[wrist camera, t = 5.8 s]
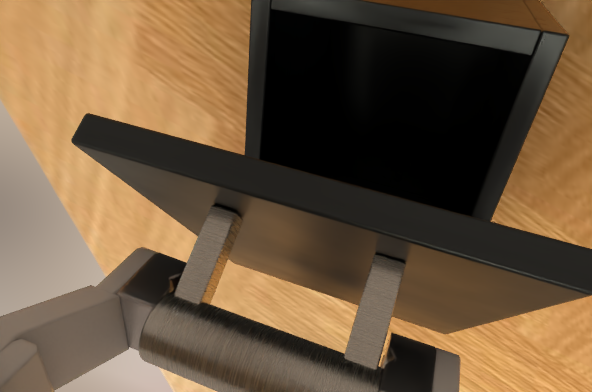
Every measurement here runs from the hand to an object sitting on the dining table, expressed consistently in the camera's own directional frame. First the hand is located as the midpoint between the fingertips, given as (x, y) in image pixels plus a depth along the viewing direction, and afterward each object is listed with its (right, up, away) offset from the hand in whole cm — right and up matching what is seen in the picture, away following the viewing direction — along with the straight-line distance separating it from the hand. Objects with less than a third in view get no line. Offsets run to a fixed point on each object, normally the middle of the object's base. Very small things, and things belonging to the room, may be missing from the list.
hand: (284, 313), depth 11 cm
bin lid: (+1, +1, +4) cm, 4 cm away
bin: (+6, +9, +15) cm, 19 cm away
